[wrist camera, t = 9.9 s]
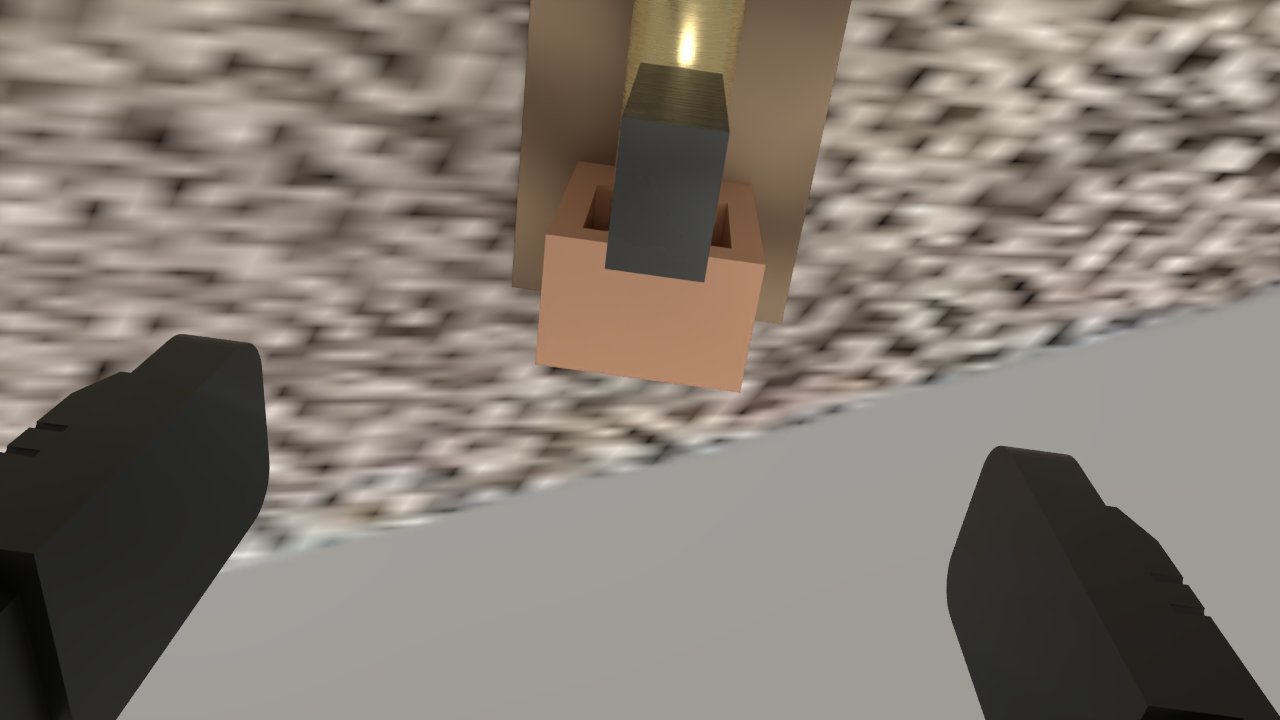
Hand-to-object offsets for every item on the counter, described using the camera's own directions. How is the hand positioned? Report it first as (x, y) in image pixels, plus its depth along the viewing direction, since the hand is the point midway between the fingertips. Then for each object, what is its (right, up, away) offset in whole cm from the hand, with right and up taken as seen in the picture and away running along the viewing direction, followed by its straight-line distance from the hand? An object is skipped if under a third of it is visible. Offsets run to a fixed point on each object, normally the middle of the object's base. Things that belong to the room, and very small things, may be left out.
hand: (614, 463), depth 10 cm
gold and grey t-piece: (+2, +10, +17) cm, 20 cm away
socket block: (+1, +6, +22) cm, 23 cm away
